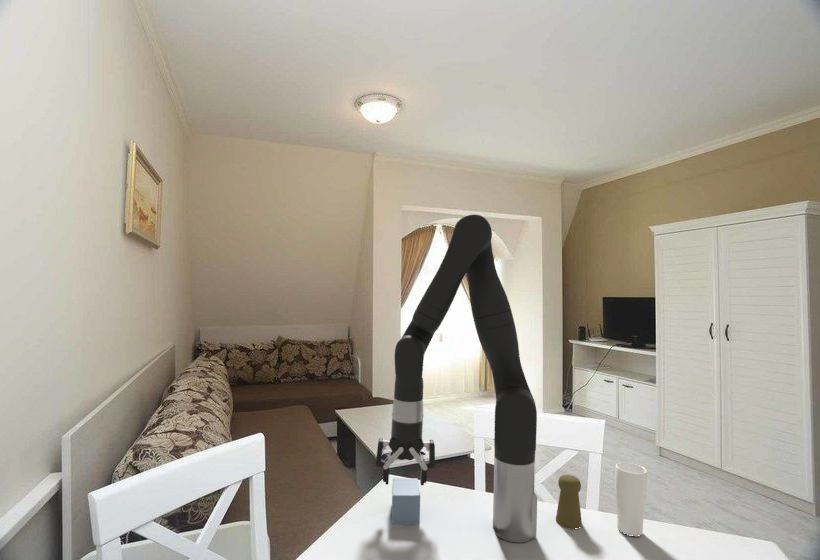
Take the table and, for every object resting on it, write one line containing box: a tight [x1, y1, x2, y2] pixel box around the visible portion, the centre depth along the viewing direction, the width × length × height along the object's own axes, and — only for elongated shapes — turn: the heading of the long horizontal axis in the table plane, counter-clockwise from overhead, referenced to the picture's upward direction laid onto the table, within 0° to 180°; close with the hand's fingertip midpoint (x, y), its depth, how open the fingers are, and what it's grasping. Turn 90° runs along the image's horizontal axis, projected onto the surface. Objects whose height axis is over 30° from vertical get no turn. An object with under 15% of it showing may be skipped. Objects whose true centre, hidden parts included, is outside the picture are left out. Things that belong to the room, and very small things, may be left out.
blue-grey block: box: [391, 477, 421, 525], centre depth 104 cm, size 9×6×8 cm
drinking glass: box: [614, 461, 648, 536], centre depth 101 cm, size 7×7×15 cm
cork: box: [555, 474, 583, 530], centre depth 105 cm, size 6×6×11 cm
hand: (404, 483), depth 104 cm, fingers open, 8 cm apart
